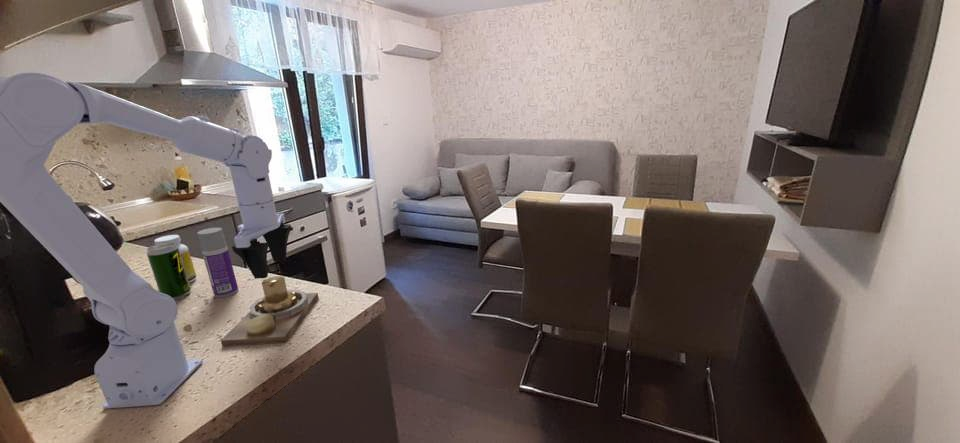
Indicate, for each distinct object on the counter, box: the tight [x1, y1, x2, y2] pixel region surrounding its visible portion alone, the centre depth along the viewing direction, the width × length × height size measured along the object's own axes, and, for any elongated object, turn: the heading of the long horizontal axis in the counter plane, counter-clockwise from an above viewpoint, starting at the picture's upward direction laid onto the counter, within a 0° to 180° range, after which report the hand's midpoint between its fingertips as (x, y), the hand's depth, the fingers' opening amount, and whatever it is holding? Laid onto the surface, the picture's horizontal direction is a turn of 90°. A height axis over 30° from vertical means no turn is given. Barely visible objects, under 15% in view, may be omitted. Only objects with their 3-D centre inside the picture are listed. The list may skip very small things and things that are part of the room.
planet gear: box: [258, 275, 297, 314], centre depth 74 cm, size 7×7×6 cm
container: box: [196, 227, 239, 299], centre depth 82 cm, size 5×5×15 cm
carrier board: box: [220, 289, 319, 347], centre depth 73 cm, size 16×11×3 cm
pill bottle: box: [154, 234, 197, 284], centre depth 89 cm, size 6×6×12 cm
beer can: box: [146, 242, 192, 301], centre depth 82 cm, size 5×5×12 cm
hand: (271, 268), depth 72 cm, fingers open, 7 cm apart
